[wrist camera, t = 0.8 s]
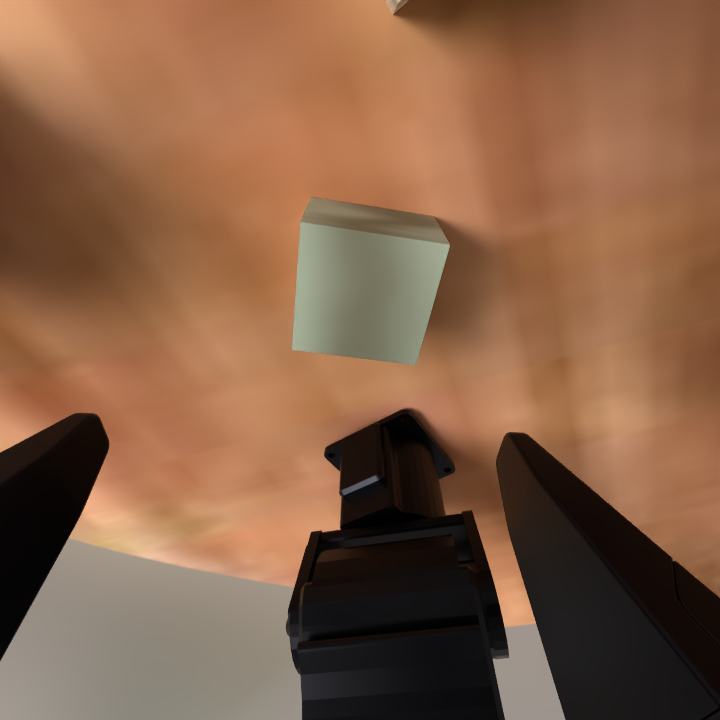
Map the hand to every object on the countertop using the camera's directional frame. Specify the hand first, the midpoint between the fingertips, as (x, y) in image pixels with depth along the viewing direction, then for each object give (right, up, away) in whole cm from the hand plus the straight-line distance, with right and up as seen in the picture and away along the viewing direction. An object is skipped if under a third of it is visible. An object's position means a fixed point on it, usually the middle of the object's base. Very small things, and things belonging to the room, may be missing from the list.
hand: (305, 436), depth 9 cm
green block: (+1, +6, +10) cm, 12 cm away
